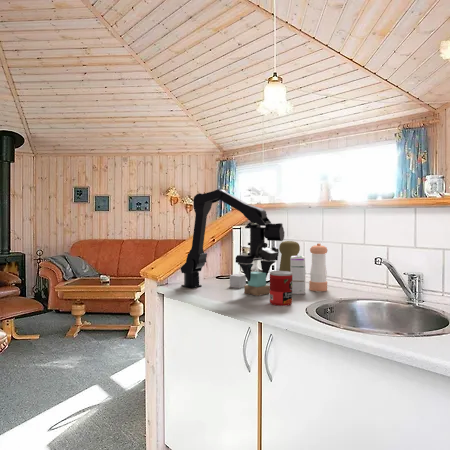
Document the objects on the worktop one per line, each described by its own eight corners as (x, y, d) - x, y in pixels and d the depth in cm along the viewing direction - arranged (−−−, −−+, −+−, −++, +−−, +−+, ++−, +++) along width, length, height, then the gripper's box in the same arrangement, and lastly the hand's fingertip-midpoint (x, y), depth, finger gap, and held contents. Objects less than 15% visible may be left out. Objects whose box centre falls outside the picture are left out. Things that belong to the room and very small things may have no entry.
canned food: (287, 307, 136) (287, 274, 136) (265, 304, 141) (265, 272, 140) (295, 302, 143) (295, 271, 143) (275, 300, 147) (275, 270, 147)
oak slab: (244, 292, 160) (244, 285, 160) (256, 290, 165) (256, 283, 165) (257, 295, 155) (257, 287, 155) (269, 293, 160) (269, 285, 159)
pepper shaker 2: (325, 288, 170) (326, 242, 170) (328, 291, 163) (329, 244, 162) (308, 287, 171) (308, 242, 170) (310, 291, 164) (310, 244, 163)
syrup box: (305, 294, 158) (305, 257, 157) (290, 293, 159) (290, 256, 158) (305, 291, 163) (305, 255, 163) (290, 290, 165) (290, 255, 164)
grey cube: (229, 287, 173) (229, 275, 173) (235, 285, 177) (235, 274, 177) (239, 288, 170) (239, 276, 170) (245, 286, 174) (245, 275, 174)
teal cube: (248, 285, 160) (248, 272, 160) (256, 283, 163) (256, 271, 163) (257, 287, 156) (257, 274, 156) (266, 285, 160) (266, 273, 159)
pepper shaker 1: (303, 286, 174) (303, 242, 174) (278, 286, 174) (279, 242, 174) (299, 282, 185) (299, 240, 184) (275, 282, 185) (276, 240, 184)
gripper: (255, 242, 147) (255, 285, 147) (288, 240, 159) (288, 279, 160) (234, 240, 155) (234, 281, 156) (267, 238, 168) (267, 276, 168)
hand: (257, 279), depth 160 cm, fingers open, 9 cm apart
